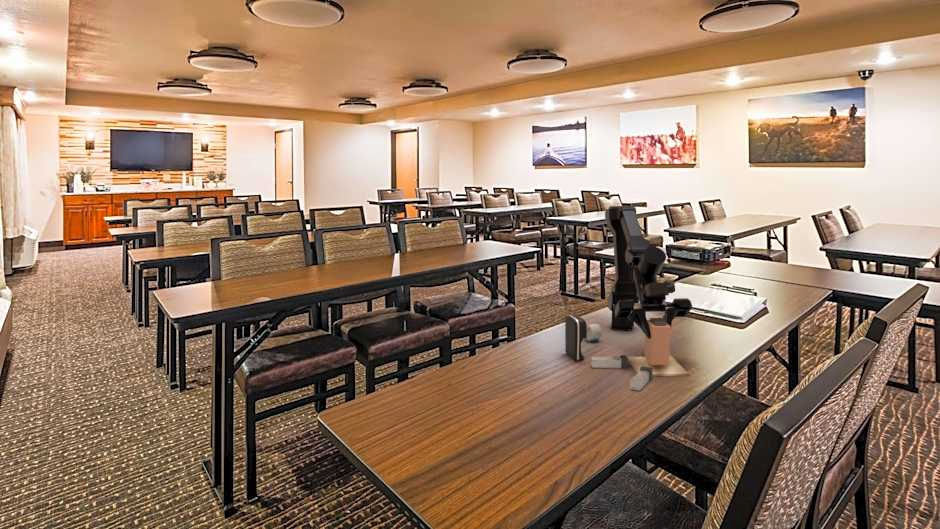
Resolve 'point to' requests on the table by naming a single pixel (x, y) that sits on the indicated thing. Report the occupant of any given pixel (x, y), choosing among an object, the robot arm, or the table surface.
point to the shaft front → (641, 378)
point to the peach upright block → (658, 342)
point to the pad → (659, 367)
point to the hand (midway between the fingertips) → (659, 337)
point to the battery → (574, 336)
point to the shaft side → (610, 362)
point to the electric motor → (593, 332)
